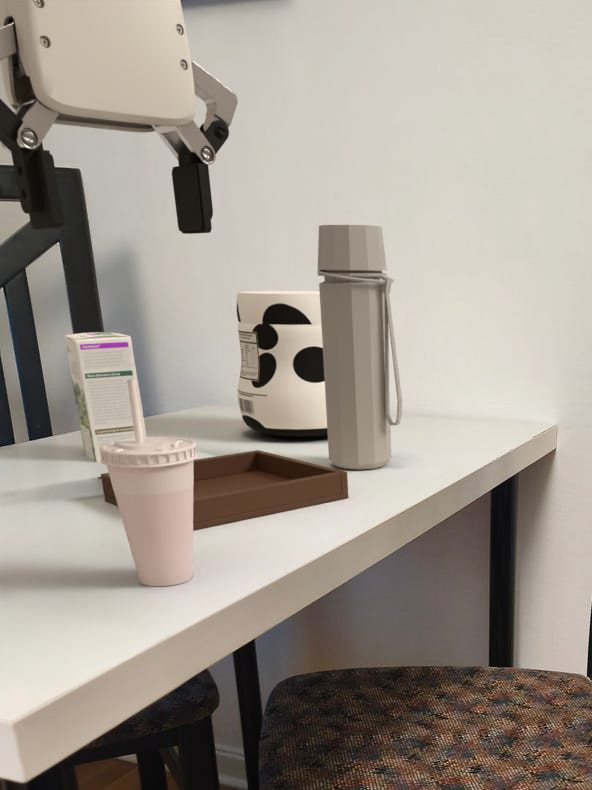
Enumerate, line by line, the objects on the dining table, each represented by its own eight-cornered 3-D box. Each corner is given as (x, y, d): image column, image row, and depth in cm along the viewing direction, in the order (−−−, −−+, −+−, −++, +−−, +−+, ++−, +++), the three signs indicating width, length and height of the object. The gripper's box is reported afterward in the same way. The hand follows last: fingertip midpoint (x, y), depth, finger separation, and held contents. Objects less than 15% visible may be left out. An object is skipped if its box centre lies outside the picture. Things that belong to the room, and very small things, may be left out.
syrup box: (153, 474, 97) (134, 334, 92) (97, 480, 94) (73, 336, 89) (139, 465, 102) (120, 331, 96) (84, 470, 98) (61, 332, 93)
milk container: (386, 425, 128) (381, 291, 121) (342, 447, 113) (334, 294, 106) (275, 420, 132) (264, 290, 125) (217, 440, 116) (202, 293, 109)
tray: (185, 531, 76) (182, 502, 75) (104, 500, 86) (100, 473, 85) (348, 497, 88) (347, 471, 87) (260, 473, 98) (258, 449, 97)
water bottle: (314, 468, 101) (298, 224, 91) (352, 456, 107) (341, 228, 98) (384, 476, 97) (375, 223, 88) (419, 463, 104) (414, 227, 94)
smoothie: (139, 563, 68) (112, 373, 63) (223, 565, 68) (202, 374, 62) (104, 592, 62) (70, 384, 57) (195, 593, 62) (170, 385, 56)
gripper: (186, -55, 58) (216, 235, 64) (-119, -135, 46) (-44, 229, 53) (250, -84, 53) (276, 233, 59) (-73, -182, 41) (4, 224, 48)
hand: (125, 230), depth 56 cm, fingers open, 9 cm apart
